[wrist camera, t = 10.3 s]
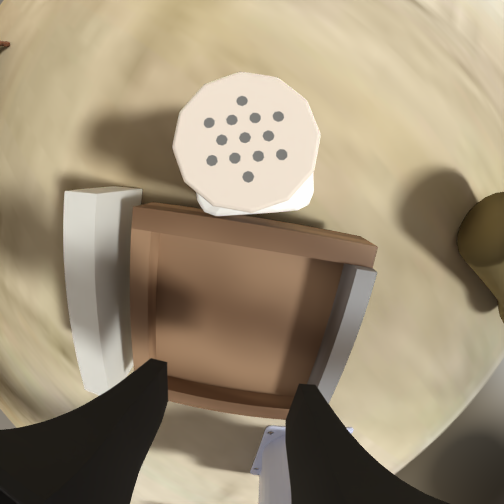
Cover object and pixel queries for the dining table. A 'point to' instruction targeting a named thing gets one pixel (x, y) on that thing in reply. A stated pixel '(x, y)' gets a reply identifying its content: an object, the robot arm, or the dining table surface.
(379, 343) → the dining table surface
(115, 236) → the block
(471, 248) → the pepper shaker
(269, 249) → the brown wooden square tray
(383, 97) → the dining table surface
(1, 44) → the pottery mug
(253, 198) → the pepper shaker
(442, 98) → the dining table surface
